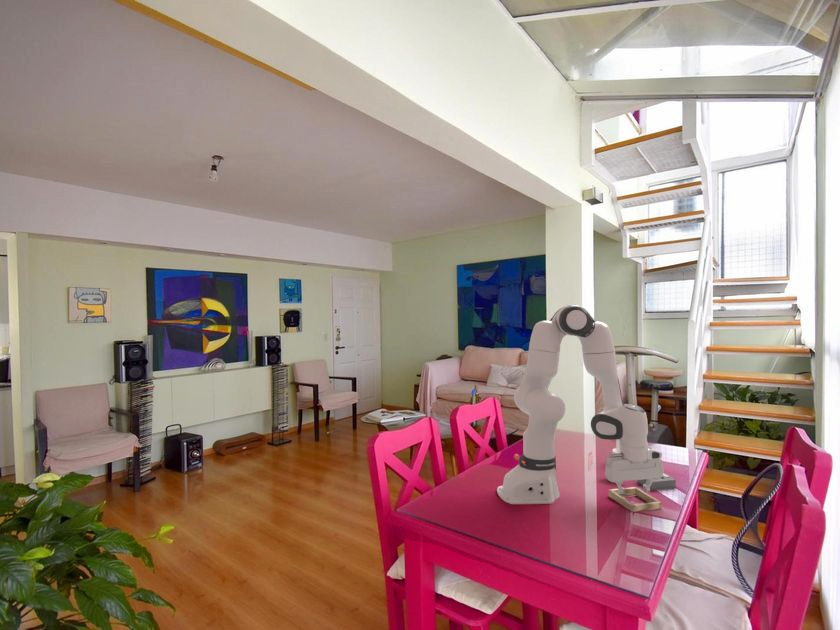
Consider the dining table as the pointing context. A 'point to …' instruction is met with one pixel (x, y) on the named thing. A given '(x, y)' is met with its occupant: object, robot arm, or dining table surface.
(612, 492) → the trough
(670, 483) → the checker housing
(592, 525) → the dining table surface
